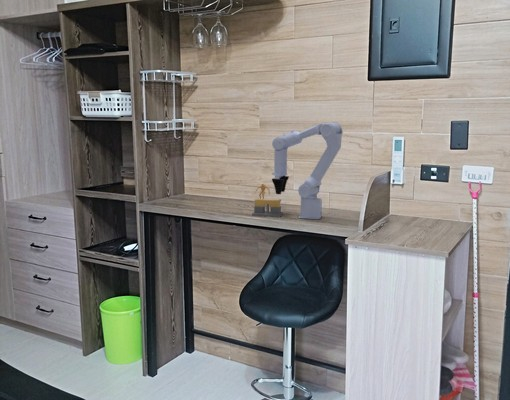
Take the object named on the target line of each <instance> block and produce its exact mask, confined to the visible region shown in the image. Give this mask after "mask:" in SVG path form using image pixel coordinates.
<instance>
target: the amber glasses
mask: <svg viewBox="0 0 510 400" xmlns="http://www.w3.org/2000/svg"><path fill="white" fill-rule="evenodd" d="M281 202H282V199H263V198H261V199H260V197H259V198H258V197H257V198H255V199H254V206H262V207H265V208H266V205H267V204H269V208H270V207H280V206H281Z"/></svg>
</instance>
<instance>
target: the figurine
mask: <svg viewBox="0 0 510 400" xmlns="http://www.w3.org/2000/svg"><path fill="white" fill-rule="evenodd" d="M259 189H261V190H260V192H259V199H264V198H265V194H266V189H267V190H268V195H269V196H270V194H271V192H270V188H269V187H267V185H266V184H264V183H262V184H261V185H260V186H258V187H257V188H256V189H255V191H254V193H256V192H257V191H258V190H259Z"/></svg>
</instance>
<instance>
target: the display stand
mask: <svg viewBox="0 0 510 400" xmlns="http://www.w3.org/2000/svg"><path fill="white" fill-rule="evenodd" d="M253 208H254V209H253V210H254V211H253V212H252V213H251V216H252V217H254V216H255V217H267V216H270V217H269V218H280V216H281V217H282V216H283V215H284V211H282V206H281V205H280V207H270V204H265V207H262V206H255V205H254V207H253Z"/></svg>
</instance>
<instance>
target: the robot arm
mask: <svg viewBox="0 0 510 400" xmlns="http://www.w3.org/2000/svg"><path fill="white" fill-rule="evenodd" d="M343 133H344V131H343V128H342V125H341V124H340V123H338V122H335V121H333V122H324V123H320V124H319V123H318V124H316V125H313V126H311V127H309V128H307V129H304V130H302V131H297V130H291V131H290V132H289V133H287V134H282V135H281V137H279V136H276V137H275V138H274V139H273V140H272V145H271V146H272V148H273V149H274V152H273V153H274V155H273V156H274V161H273V162H274V169H273V170H274V171H273V172H271V175H274V178H271V182H272V183H273V186H274V191H275V194H276V195H281V194H282V193H285V190H286V186H287V182H288V181H289V177H290V176H288V170H287V169H288V149H289V148H291V147H293V146H295V145H296V146H297V145H298V144H301V143H302V141H303V140H304V139H307V138H310V137H312V136H315V135H318V136H319V135H320V136H322V138H323V139H324V141H325V143H326V146H327V147H326V148H325V150H324V151H323V153H322V155H321V156H320V159H319V161H318V162H317V163H316V166H315V167H314V169H313V170H312V172H311V174H310V175H309V177H307V179H306V180H305V181H304V182H303V183H302V184H301V185H299V187H298V195H299V196H300V215H299V216H298V219H309V220H320V219H321V217H322V216H323V210H322V209H323V200H322V198H320V197H318V194H319V192H320V190H321V189H320V187H321V185H322V179H323V178H324V177H325V174H326V173H327V171H328V170H329V168H330V167H331V165H332V163H333V161H335V158H336V156H338V155H337V154H338V153H339V152H340V150H341V148H342V137H343Z"/></svg>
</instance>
